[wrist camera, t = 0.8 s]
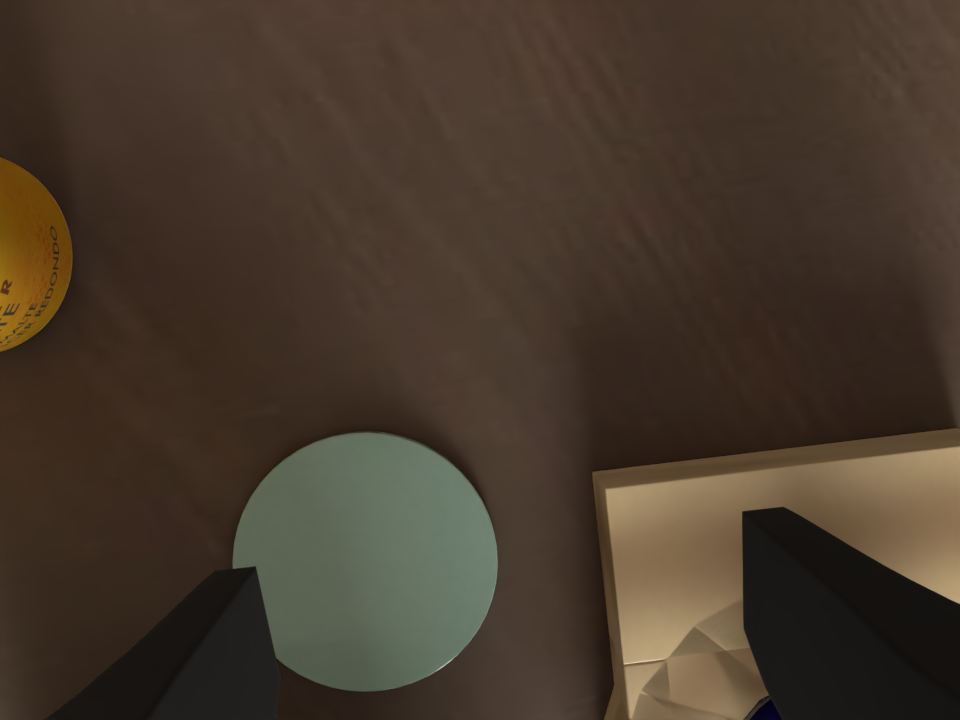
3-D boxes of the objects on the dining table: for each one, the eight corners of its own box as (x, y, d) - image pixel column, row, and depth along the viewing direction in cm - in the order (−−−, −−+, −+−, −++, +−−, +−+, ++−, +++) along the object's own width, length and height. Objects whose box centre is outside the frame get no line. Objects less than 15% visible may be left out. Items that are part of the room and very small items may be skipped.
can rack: (1010, 907, 31) (1059, 961, 29) (623, 959, 31) (638, 1018, 28) (977, 425, 30) (1025, 437, 27) (571, 473, 30) (583, 491, 27)
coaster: (511, 669, 30) (512, 675, 30) (253, 702, 30) (251, 707, 29) (482, 416, 29) (482, 417, 29) (218, 447, 29) (214, 449, 29)
